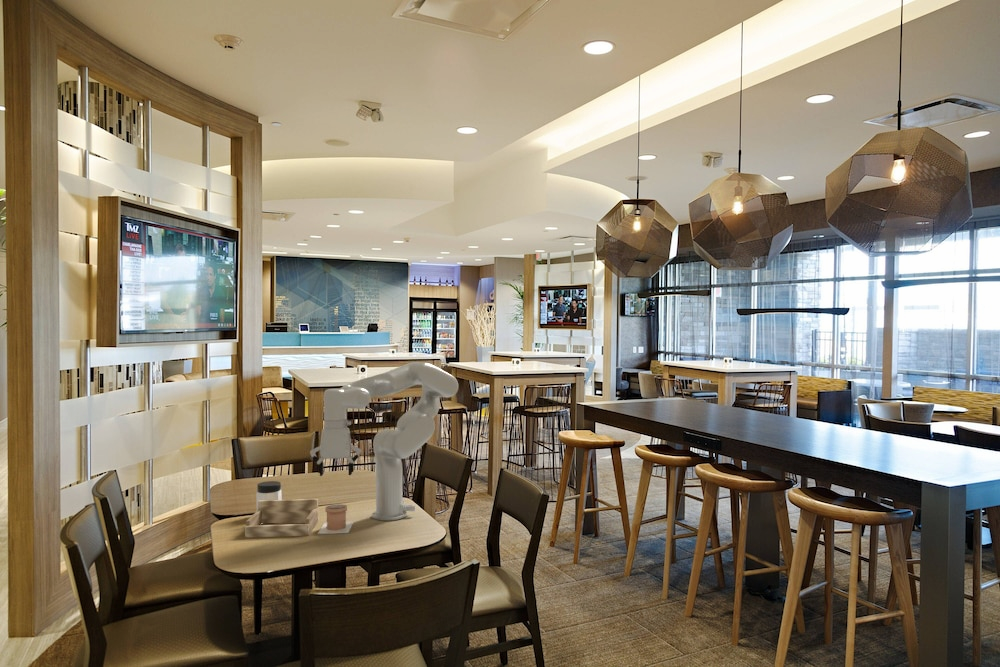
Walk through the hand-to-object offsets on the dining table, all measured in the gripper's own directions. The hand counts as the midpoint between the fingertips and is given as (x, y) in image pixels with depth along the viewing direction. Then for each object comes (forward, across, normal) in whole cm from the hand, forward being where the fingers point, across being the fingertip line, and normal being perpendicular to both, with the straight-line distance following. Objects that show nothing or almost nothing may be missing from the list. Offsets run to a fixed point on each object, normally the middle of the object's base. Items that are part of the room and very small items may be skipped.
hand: (336, 474), depth 225 cm
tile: (+18, 0, 0) cm, 18 cm away
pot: (+18, 0, 0) cm, 18 cm away
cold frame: (+18, +18, -1) cm, 26 cm away
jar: (+18, +27, -18) cm, 37 cm away
